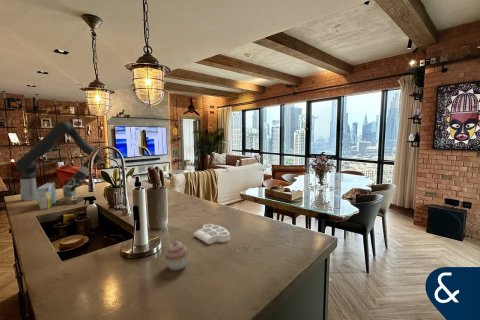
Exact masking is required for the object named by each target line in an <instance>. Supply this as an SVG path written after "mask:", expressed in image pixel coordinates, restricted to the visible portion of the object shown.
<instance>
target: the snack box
mask: <svg viewBox="0 0 480 320" xmlns="http://www.w3.org/2000/svg"><path fill="white" fill-rule="evenodd" d="M55 184H56V183H55V182H46V183H45V184H42V185H41V186H39V187H38V188H37V189H36V190H37V196H38V199H37V201H38V202H37V203H38V209H39V211H40V210H49V208H51V206H53V205H54V204H56V200H58V199H57V193H56V187H55V186H56V185H55Z"/></svg>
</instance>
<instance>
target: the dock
mask: <svg viewBox="0 0 480 320" xmlns="http://www.w3.org/2000/svg"><path fill="white" fill-rule="evenodd" d="M83 197H84V196H77V197H76V198H73V199H70V200H63V197H62V198H59V199H57V200H56V202H55V205H56V206H62V205H63V206H64V205H77V204H80V203H82V202H83V201H84V200H83Z"/></svg>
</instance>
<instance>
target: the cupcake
mask: <svg viewBox="0 0 480 320" xmlns="http://www.w3.org/2000/svg"><path fill="white" fill-rule="evenodd" d="M189 255H190V251H189V250H188V249H187V247H186V245H185V244H183V243H182V242H180V241H174V242H173V243H172V244H170V245H169V246H168V248H167V249H166V251H165V254H164V255H163V257H164V260H165V262H166V263H167V267H168V268H169V270H170V271H174V272H175V271H176V272H177V271H180V270H183V269H185V267H186V266H187V262H188V259H189V258H188V257H189Z"/></svg>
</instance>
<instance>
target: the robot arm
mask: <svg viewBox="0 0 480 320" xmlns="http://www.w3.org/2000/svg"><path fill="white" fill-rule="evenodd" d="M65 134H66V135H68V136H70V137H71V139H73V140H74V143H75V145H76V146H77V147H78V148H79V149H80V150H81V151H82V152H83V153H84V154H87V155H88V156H89V157H90V154H91V152H92V151H93V150H94V149H95V148H94V147H92V145H90V144H89V143H88V142H87V140H85V139H84V138H83V137H82V135H80V133H79V132H78V131H77V130H76V128H75V126H74V125H73V124H72V123H71V122H69V121H58V122H57V123H56V124H55V125H54V127H52V129H51V130H50V132H48V134H47V133H46V135H45V136H44V137H43V138H42V139H40V140H39V141H38V142H37V143H36V144H35V145H34V146H33V147H32V148H31V149H30V150H29V151H28V152H27V153H26V154H24V155H23V156H21V157H20V158H18V160H16V162H15V169H16V170H18V171H21V172H22V173H21V174H20V176H19V181H20V189H19V192H20V201H21V202H22V201H23V202H26V201H29V202H30V201H34V200H38V196H37V190H36V189H37V187H38V186H37V180H36V178H37V177H36V175H37V163H36V160H37V159H39V158H41V157H42V156H44V155H46V154H48V153H49V152H50V151H51V150H52V149H53V148H54V146H55V145H56V143H57V141H58V140H59V139H60V138H61V137H62V136H64V135H65ZM101 158H102V154H101V153H100V152H99V153H98V154H97V155H96V157H95V159H94V165H93V168H94V166H96V165H97V163H99V161H100V160H101ZM88 163H89V158H88V159H87V160H86V161H84V163H82V165H81V166H80V167H79V168H78V170H76V171H75V173H74V174H73V178H72V177H70V178H69V179H68V180H67V181H66V182H65V185H73V187H72V188H71V189H70V191H71V192H73V191H74V190H75V189H77V188H80V186H81V185H82V184H83V183H84V180H85V179H86V178H87V177H88V175H89V174H90V172H89V169H88Z"/></svg>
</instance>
